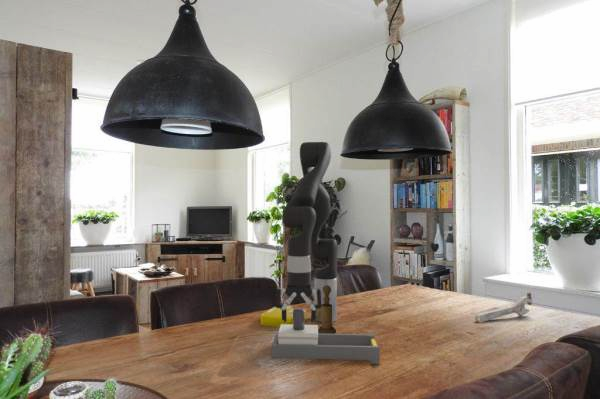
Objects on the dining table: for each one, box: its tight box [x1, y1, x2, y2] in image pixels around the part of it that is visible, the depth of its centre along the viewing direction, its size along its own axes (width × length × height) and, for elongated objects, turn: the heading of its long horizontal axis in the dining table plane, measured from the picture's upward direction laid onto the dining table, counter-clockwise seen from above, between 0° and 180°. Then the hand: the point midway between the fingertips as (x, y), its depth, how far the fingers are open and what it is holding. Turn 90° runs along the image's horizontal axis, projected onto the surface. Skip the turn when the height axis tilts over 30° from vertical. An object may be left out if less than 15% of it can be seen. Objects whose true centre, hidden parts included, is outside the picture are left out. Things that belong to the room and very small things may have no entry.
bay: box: [271, 332, 381, 365], centre depth 129 cm, size 12×32×5 cm, turn 88°
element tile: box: [260, 306, 307, 328], centre depth 167 cm, size 15×15×5 cm
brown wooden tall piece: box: [318, 286, 337, 334], centre depth 150 cm, size 7×6×18 cm
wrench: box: [474, 296, 533, 323], centre depth 173 cm, size 8×2×30 cm
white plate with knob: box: [277, 307, 319, 345], centre depth 130 cm, size 9×12×13 cm
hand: (298, 321), depth 130 cm, fingers open, 8 cm apart
